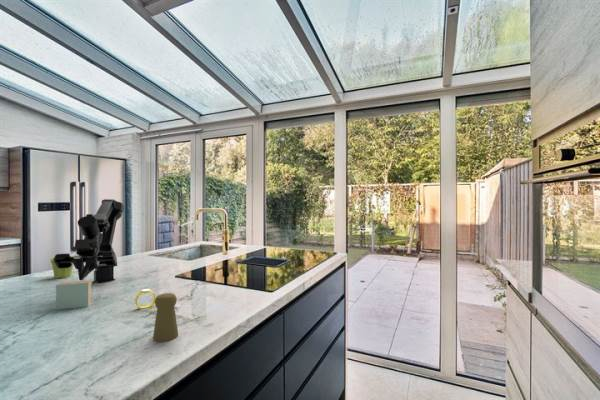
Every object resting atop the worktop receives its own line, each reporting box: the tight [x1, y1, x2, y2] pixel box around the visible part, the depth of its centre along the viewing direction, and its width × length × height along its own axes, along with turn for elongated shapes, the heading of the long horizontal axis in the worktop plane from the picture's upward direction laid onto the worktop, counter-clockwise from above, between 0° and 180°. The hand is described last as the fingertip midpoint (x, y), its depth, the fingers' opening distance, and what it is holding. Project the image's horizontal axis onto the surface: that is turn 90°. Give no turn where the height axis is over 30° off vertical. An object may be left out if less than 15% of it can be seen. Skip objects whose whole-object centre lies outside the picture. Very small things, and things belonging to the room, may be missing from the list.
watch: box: [134, 288, 157, 310], centre depth 101 cm, size 6×3×6 cm, turn 127°
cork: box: [152, 292, 179, 343], centre depth 80 cm, size 6×6×11 cm
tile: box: [55, 280, 92, 310], centre depth 102 cm, size 3×9×8 cm, turn 108°
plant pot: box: [49, 255, 75, 279], centre depth 141 cm, size 9×9×9 cm
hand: (80, 279), depth 108 cm, fingers closed
